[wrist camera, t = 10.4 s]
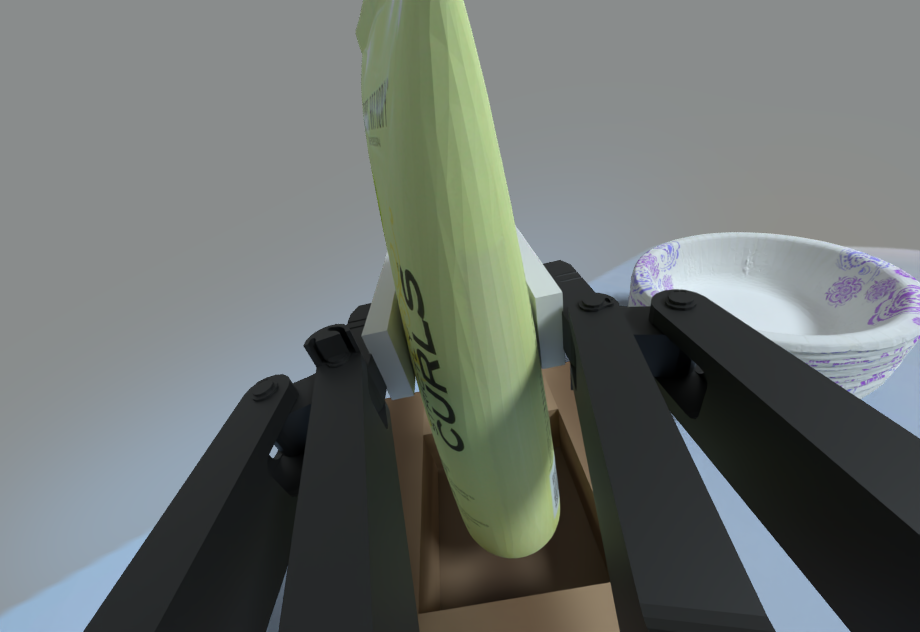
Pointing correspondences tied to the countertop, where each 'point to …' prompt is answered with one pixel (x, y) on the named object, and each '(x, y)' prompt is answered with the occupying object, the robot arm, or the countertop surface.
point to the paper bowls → (797, 298)
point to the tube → (458, 268)
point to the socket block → (490, 576)
